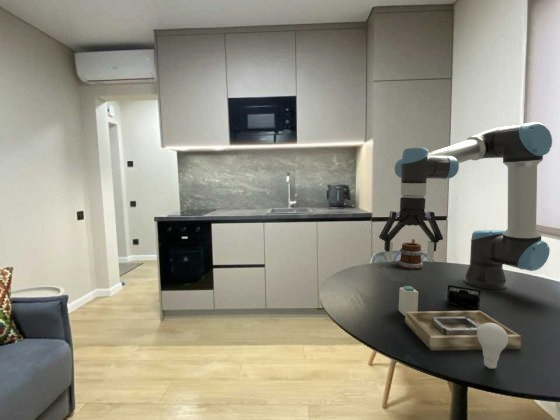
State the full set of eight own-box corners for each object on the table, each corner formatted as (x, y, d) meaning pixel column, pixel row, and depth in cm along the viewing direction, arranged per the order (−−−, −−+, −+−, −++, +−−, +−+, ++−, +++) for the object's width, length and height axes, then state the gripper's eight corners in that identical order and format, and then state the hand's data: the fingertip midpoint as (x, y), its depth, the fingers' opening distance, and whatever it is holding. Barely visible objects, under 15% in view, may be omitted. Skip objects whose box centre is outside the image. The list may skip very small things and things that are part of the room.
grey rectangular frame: (466, 322, 96) (466, 316, 96) (484, 336, 87) (485, 329, 87) (429, 323, 95) (429, 316, 95) (444, 337, 87) (445, 330, 87)
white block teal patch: (411, 309, 107) (412, 285, 106) (417, 315, 103) (418, 289, 102) (398, 310, 107) (399, 285, 106) (404, 315, 103) (405, 289, 102)
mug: (395, 268, 156) (397, 238, 157) (399, 266, 169) (401, 238, 169) (421, 271, 151) (423, 240, 151) (423, 269, 163) (425, 240, 164)
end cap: (479, 305, 111) (480, 287, 111) (479, 313, 105) (481, 293, 105) (447, 300, 116) (448, 282, 116) (446, 306, 110) (447, 288, 110)
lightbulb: (469, 361, 77) (471, 318, 76) (492, 360, 78) (495, 317, 77) (487, 376, 71) (490, 330, 70) (512, 375, 72) (516, 329, 71)
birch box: (479, 321, 99) (480, 310, 98) (520, 348, 83) (521, 336, 83) (405, 322, 98) (405, 311, 98) (431, 350, 82) (432, 337, 82)
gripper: (444, 196, 105) (440, 258, 107) (370, 195, 104) (368, 258, 107) (457, 197, 98) (453, 264, 100) (378, 197, 97) (376, 264, 99)
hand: (409, 261), depth 103 cm, fingers open, 13 cm apart
